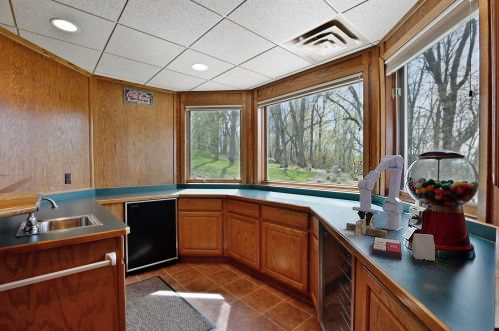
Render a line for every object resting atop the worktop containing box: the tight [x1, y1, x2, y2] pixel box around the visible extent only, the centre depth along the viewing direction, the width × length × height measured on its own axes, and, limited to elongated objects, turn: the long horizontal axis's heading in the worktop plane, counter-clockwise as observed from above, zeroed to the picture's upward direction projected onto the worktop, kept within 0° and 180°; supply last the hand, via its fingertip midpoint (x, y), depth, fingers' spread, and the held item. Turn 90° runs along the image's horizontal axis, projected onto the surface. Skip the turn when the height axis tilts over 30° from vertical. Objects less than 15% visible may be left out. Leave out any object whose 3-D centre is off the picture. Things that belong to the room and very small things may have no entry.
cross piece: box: [355, 216, 376, 238], centre depth 131 cm, size 18×2×8 cm, turn 128°
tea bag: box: [411, 233, 436, 262], centre depth 98 cm, size 4×7×10 cm, turn 72°
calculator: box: [371, 236, 403, 261], centre depth 105 cm, size 11×4×15 cm
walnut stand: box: [345, 222, 388, 239], centre depth 131 cm, size 22×2×4 cm, turn 38°
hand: (365, 224), depth 131 cm, fingers open, 2 cm apart
